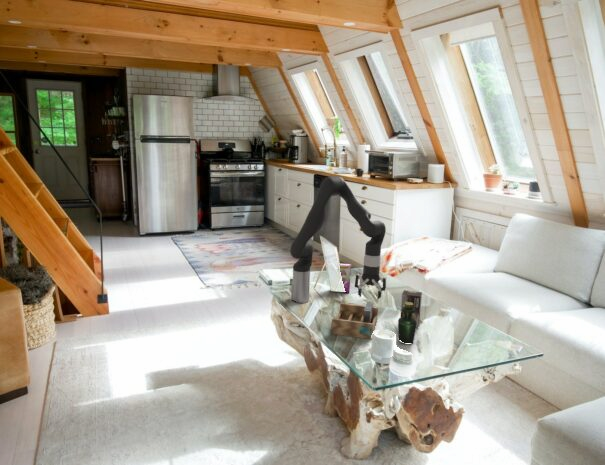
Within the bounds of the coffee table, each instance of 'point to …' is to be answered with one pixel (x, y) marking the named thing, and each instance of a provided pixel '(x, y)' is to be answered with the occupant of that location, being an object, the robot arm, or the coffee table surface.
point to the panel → (368, 313)
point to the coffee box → (416, 300)
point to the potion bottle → (407, 324)
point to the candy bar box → (346, 275)
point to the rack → (353, 321)
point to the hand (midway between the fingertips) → (369, 297)
